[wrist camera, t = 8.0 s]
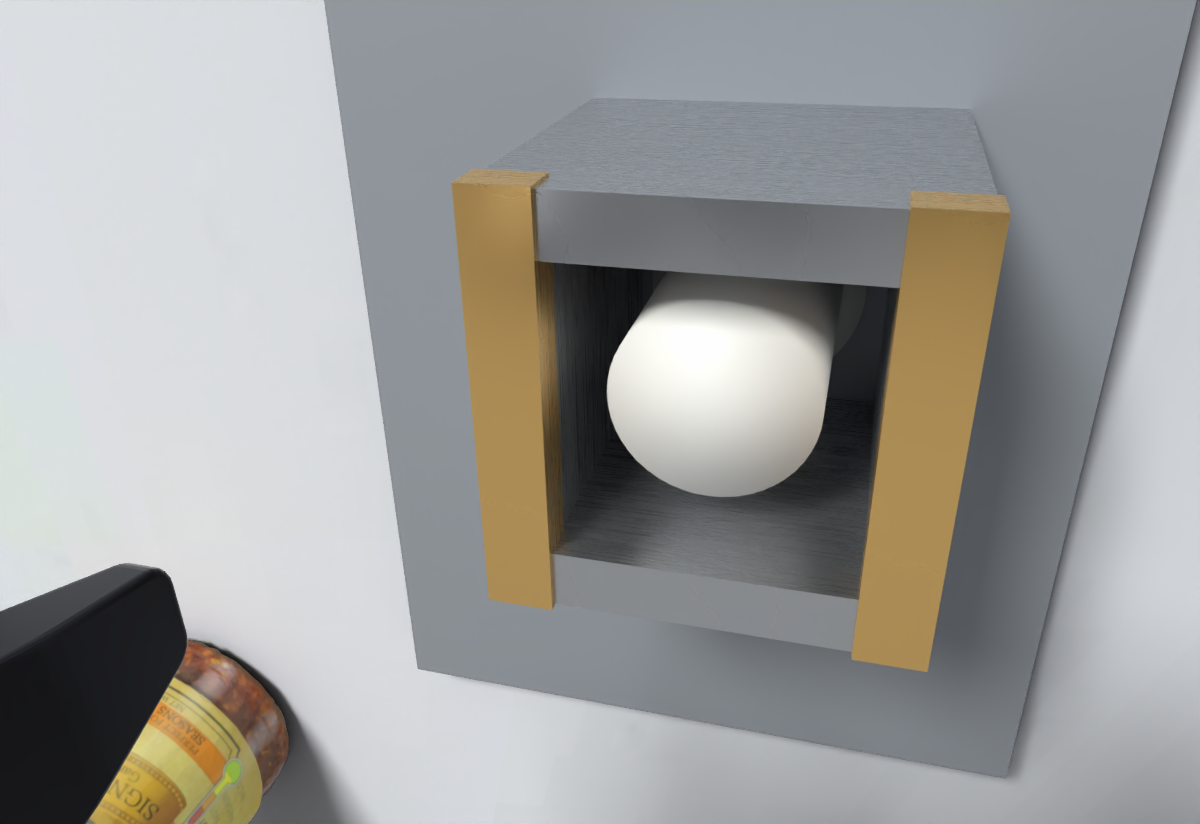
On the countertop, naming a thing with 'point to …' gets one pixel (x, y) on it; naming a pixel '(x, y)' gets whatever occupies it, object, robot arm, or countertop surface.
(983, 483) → the panel
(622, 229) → the open cube shelf
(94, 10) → the countertop surface
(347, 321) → the countertop surface
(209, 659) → the sauce bottle
